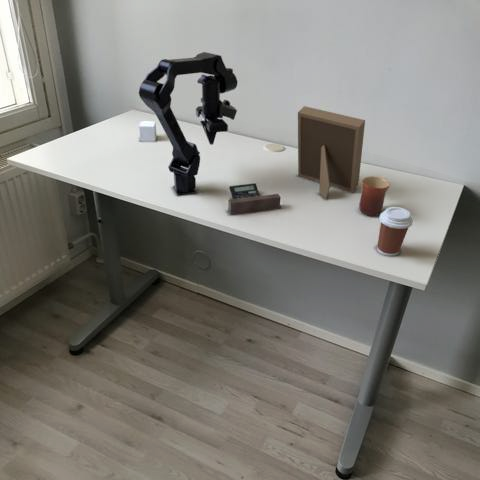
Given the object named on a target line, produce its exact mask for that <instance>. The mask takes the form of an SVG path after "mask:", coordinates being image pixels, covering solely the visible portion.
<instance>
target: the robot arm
mask: <svg viewBox="0 0 480 480" xmlns="http://www.w3.org/2000/svg"><path fill="white" fill-rule="evenodd" d="M201 73H202V74H201ZM193 74H201V76H200V77H199V78H198V79H197V84H201V98H200V102H201V103H202V105H198V106H197V107H196V108H195V116H196V117H197V118H200V116H201V118H202V120H200V121H199V122H200V124H201V126H202V129H203V131H204V133H205V136H206V138H207V141H208V143H209V145H214V143H215V139H216V136H217V133H224V132H228V131H229V124H228V123H227V122H226V121H225V120H224V119H223V118H224V117H225V118H228V119H230V120H232V121H233V120H235V118H236V115H237V112H238V110H237V109H236V107H234V106H233V105H231V102H230V101H229V100H228V99H224V100H223V101H222V99H221V94H225V93H228V92H231V91H234V90H236V88H237V87H238V78H237V76H236V74H235V73H234V68H232V67H231V68H230V67H227V66H226V64H225V63H224V61H223V57H222V55H220V54H216V53H211V52H207V51H203V52H199V53H197V54H196V55H195V56H194V57H184V58H173V59H172V58H171V59H167V58H163V59H161V60H160V61H159V62H158V63H157V65H156V67H155V68H153V69H152V70H151V71H149V72H148V73H147V74H146V75H145V78H144V79H143V80H142V82H141V83H140V86H139V89H138V96H139V98H140V100H142V102H143V103H144V105H145V106H146V107H148V108H149V109H150V110H151V111H152V112H153V113H154V114H155V115H156V117H157V120H158V121H159V123H160V125H161V128H162V129H163V131H164V133H165V134H166V137H167V139H168V141H169V142H170V144H171V146H172V153H171V155H172V159H171V161H170V163H168V164H169V165H168V167H167V168H168V170H169V172H170V173H173V182H174V183H173V186H172V187H173V190H174V192H175V193H176V195H177V196H180V195H181V196H183V195H190V194H191V195H192V194H196V193H197V192H196V189H197V184H196V183H197V181H196V176H197V175H198V173H199V168H200V163H201V156H200V154H201V151H199V150H198V146H197V144H196V143H193V142H190V141H188V140H187V138H186V137H185V134H184V132H183V131H182V127H181V126H180V124H179V122H178V120H177V118H176V116H175V114H174V112H173V110H172V107H171V106H172V96H171V95H172V93H173V91H174V90H175V86H176V85H175V84H176V78H177V77H178V76H183V75H193ZM165 76H166V80H165V82H164V83H161V82H159V81H160V80H161V79H163V78H164V77H165Z"/></svg>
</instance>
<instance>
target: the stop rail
mask: <svg viewBox="0 0 480 480" xmlns="http://www.w3.org/2000/svg"><path fill="white" fill-rule="evenodd" d="M281 199H282V196H280V194H279V193H273V194H264V195H261V196H256V197H248V198H240V199H233V198H232V199H227V201H228V203H227V212H228V213H229V215H230V216H232V215H238V214H239V215H240V214H247V213H254V212H262V211H269V210H277V209H280V208H281Z"/></svg>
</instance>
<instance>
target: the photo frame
mask: <svg viewBox="0 0 480 480" xmlns="http://www.w3.org/2000/svg"><path fill="white" fill-rule="evenodd" d="M365 126H366V119H362V118H357V117H353V116H349V115H344V114H341V113H337V112H333V111H332V112H331V111H327V110H322V109H319V108H315V107H309V106H306V105H303V107H302V108H301V109H300V110H299V111H298V112H297V177H300V178H302V179H305V180H310V181H312V182H316V183H319V188H318V189H319V192H318V194H319V195H320V196H321V197H323V198H324V199H328V196H329V192H330V189H331V187H333V188H337V189H339V190H342V191H346V192H349V193H354V192H355V190H356V189H357V188H358V187H359V185H360V184H359V182H360V173H361V165H362V163H361V162H362V154H363V145H364V136H365Z"/></svg>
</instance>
